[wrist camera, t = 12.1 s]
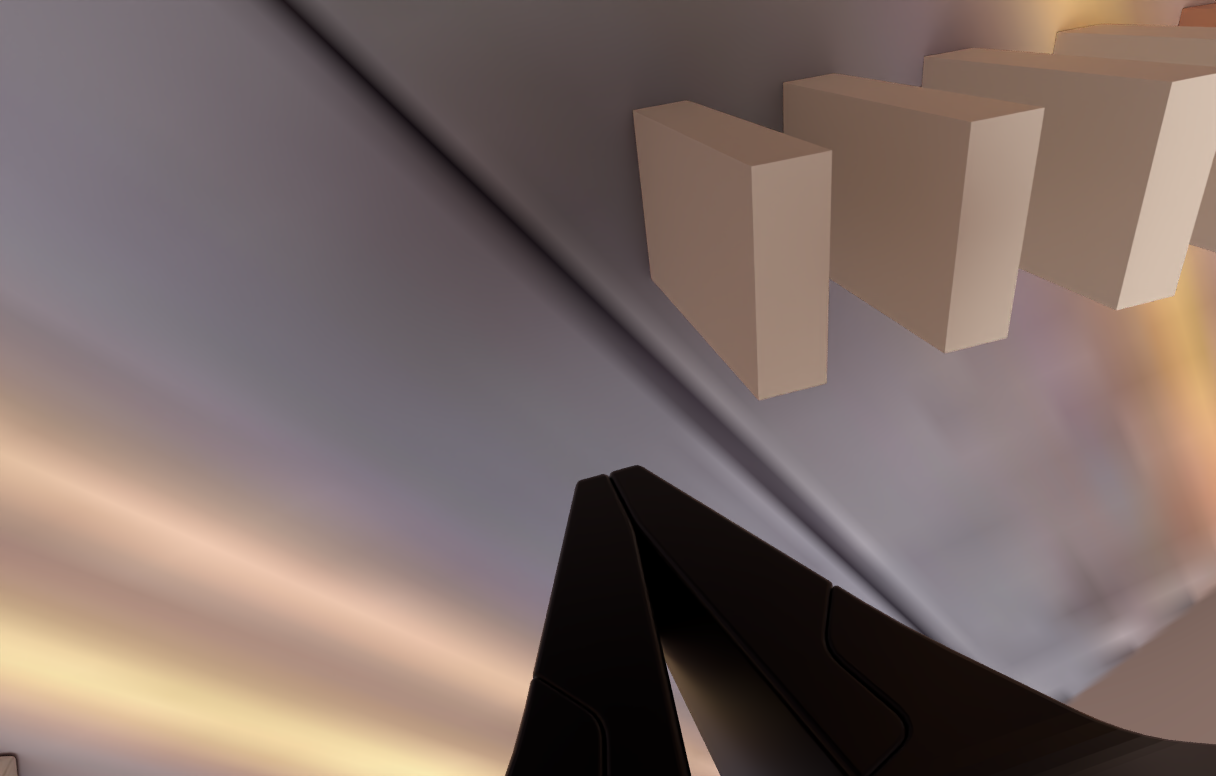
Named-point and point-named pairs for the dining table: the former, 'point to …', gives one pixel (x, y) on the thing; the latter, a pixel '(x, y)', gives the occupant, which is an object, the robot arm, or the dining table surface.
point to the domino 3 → (1103, 163)
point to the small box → (8, 766)
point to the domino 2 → (923, 199)
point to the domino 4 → (1154, 45)
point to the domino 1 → (740, 239)
